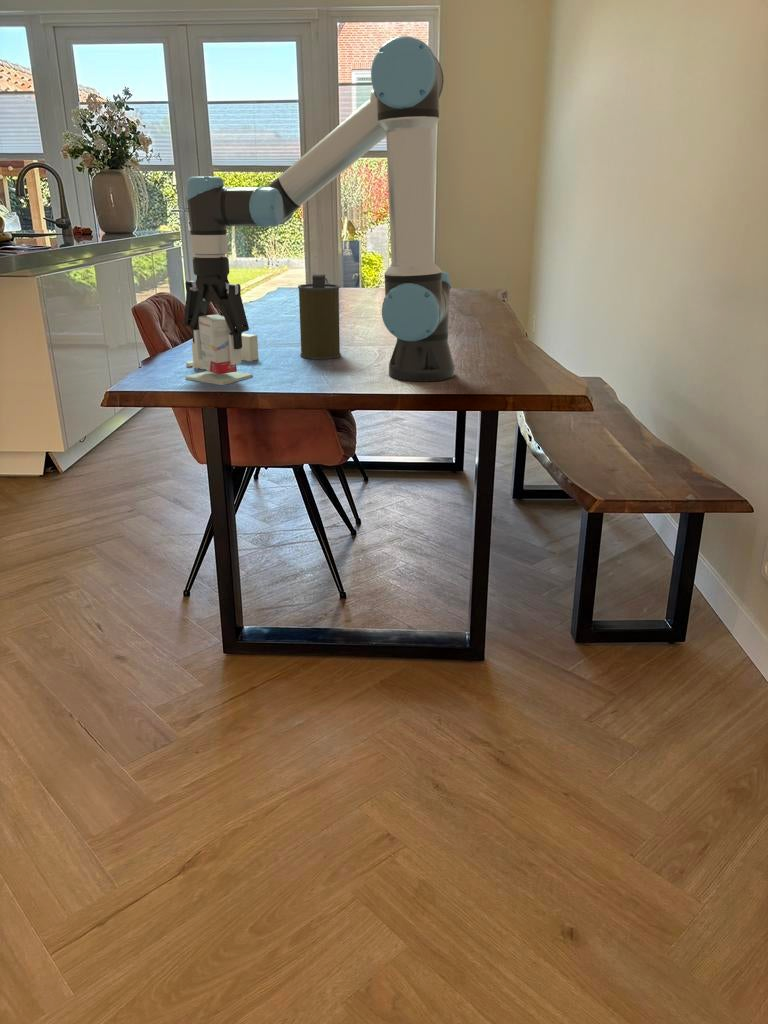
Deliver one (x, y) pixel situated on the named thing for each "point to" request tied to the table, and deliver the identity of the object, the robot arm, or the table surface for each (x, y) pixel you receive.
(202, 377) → the mat
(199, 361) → the holder
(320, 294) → the canister
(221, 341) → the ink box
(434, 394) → the table surface
